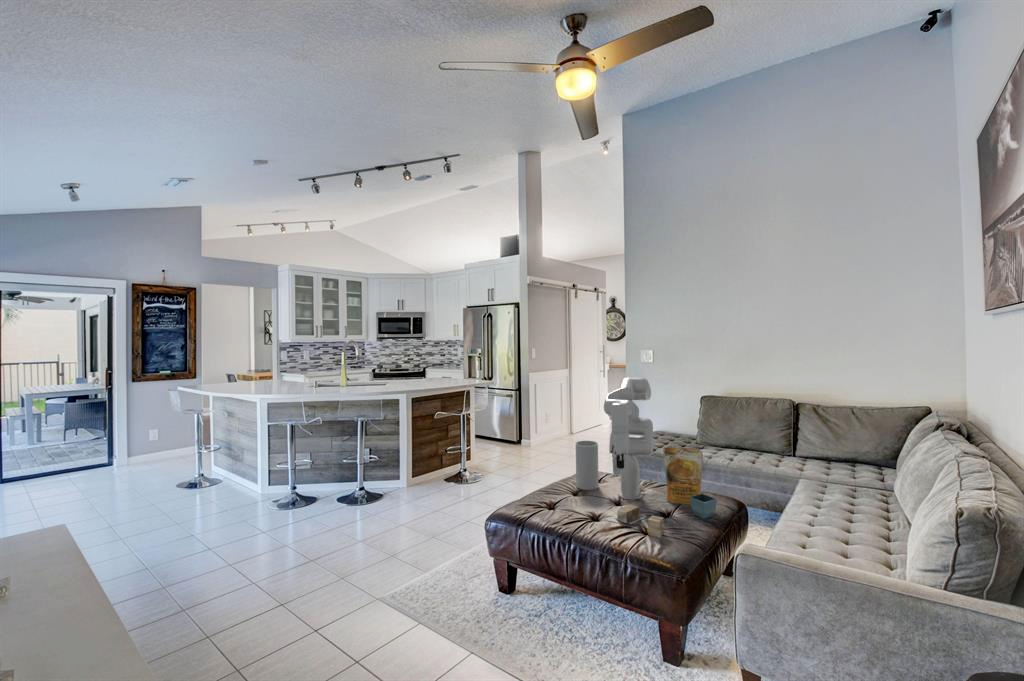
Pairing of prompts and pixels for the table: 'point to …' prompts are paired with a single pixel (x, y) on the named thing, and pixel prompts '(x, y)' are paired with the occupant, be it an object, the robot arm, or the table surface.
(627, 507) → the walnut block
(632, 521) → the grey rectangular panel
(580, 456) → the cylinder vase
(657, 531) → the oak block
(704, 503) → the flower pot
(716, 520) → the table surface
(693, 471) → the pancake mix bag
